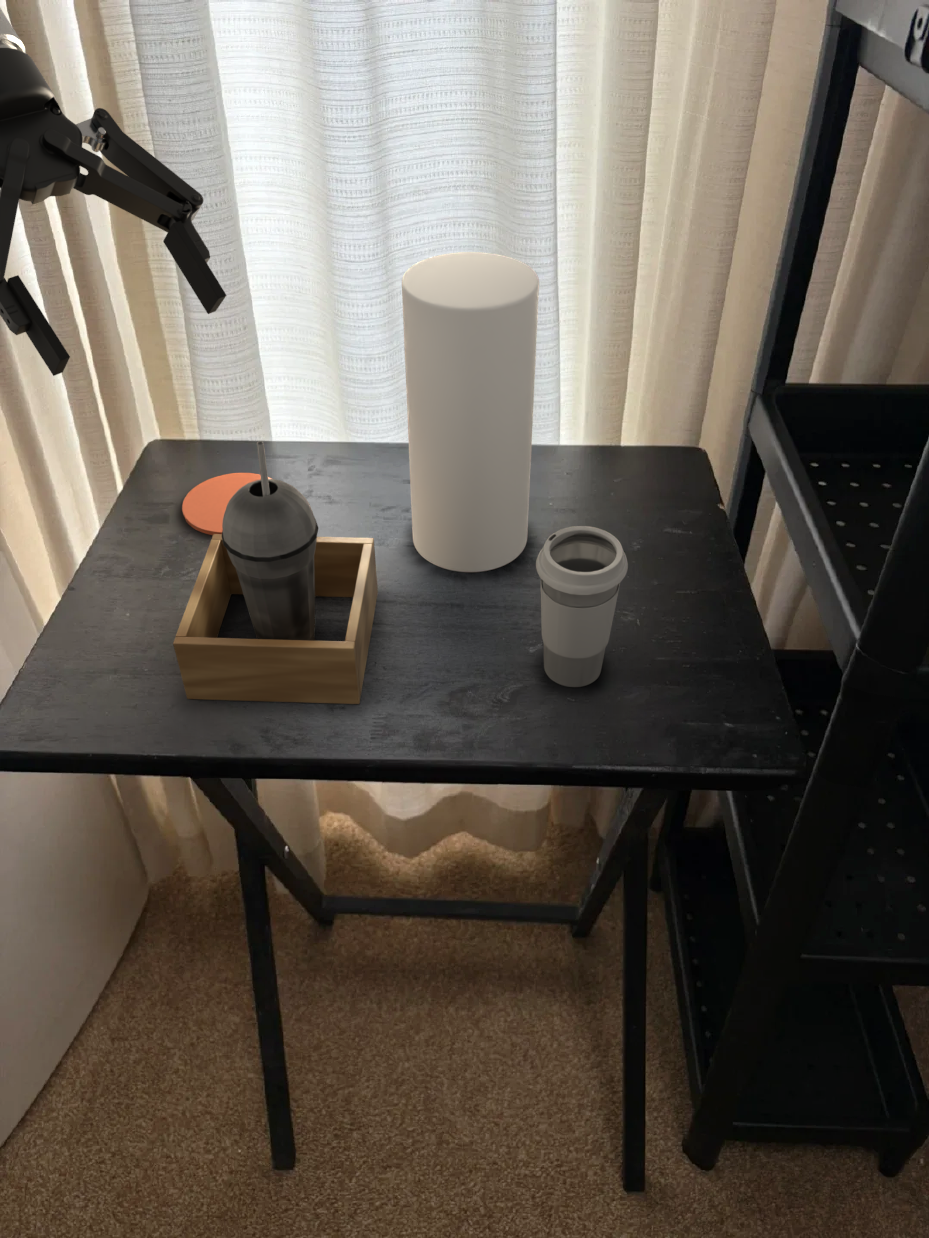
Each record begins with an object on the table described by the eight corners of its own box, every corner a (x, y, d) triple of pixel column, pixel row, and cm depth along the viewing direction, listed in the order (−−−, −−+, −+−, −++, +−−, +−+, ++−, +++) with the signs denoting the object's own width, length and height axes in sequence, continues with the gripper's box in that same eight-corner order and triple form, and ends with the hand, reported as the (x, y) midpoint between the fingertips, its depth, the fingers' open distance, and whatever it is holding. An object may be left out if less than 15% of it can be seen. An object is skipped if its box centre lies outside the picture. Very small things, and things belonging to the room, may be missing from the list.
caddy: (359, 704, 82) (353, 648, 78) (186, 699, 82) (172, 643, 78) (377, 592, 92) (373, 537, 88) (224, 588, 92) (213, 533, 88)
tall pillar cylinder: (402, 566, 94) (388, 303, 78) (424, 498, 102) (415, 247, 86) (519, 578, 93) (531, 313, 77) (533, 508, 101) (545, 255, 84)
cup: (560, 627, 88) (569, 511, 80) (629, 658, 85) (646, 541, 77) (513, 675, 84) (518, 558, 76) (585, 710, 81) (598, 592, 73)
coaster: (224, 550, 96) (223, 546, 96) (162, 506, 101) (161, 502, 101) (308, 504, 102) (307, 500, 101) (245, 465, 107) (244, 461, 106)
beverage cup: (314, 604, 90) (287, 399, 77) (344, 656, 86) (321, 447, 72) (232, 629, 88) (190, 422, 75) (259, 684, 83) (219, 473, 70)
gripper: (119, 75, 86) (258, 303, 88) (-194, 149, 72) (-20, 416, 75) (142, 12, 80) (291, 259, 82) (-195, 80, 66) (-6, 374, 68)
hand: (143, 335), depth 78 cm, fingers open, 13 cm apart
